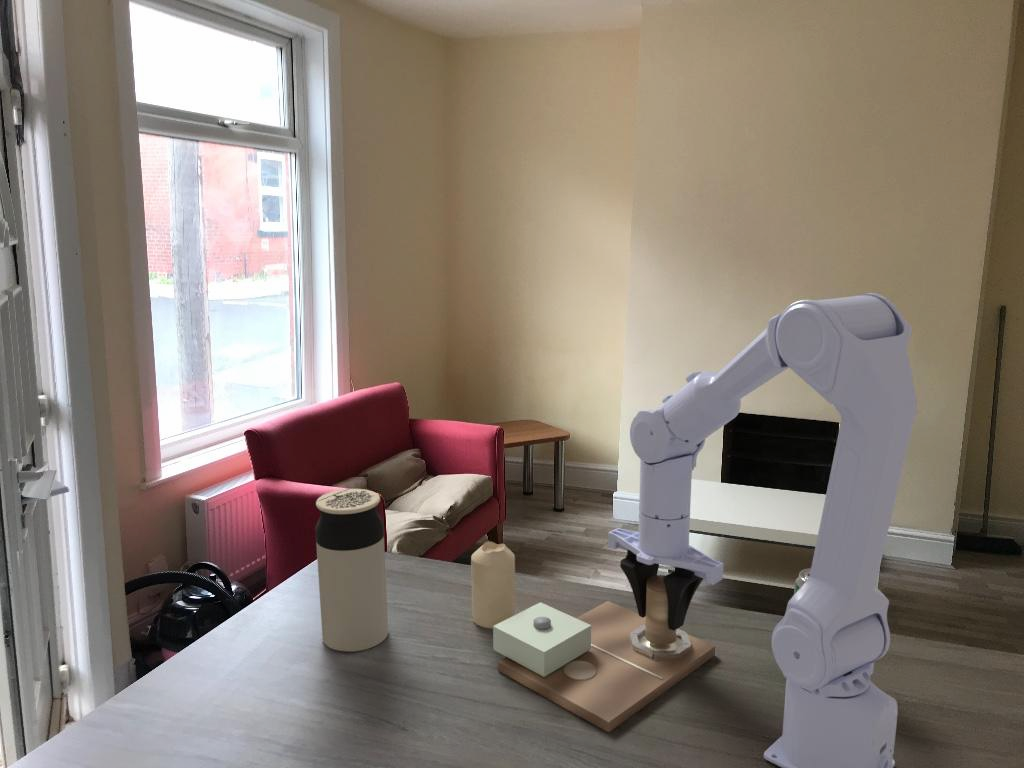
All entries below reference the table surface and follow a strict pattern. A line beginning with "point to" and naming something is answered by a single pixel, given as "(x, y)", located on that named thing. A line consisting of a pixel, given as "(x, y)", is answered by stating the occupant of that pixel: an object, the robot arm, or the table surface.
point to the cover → (542, 638)
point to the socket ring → (660, 651)
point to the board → (610, 670)
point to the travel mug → (351, 570)
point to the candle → (492, 584)
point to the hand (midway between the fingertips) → (660, 620)
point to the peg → (657, 613)
